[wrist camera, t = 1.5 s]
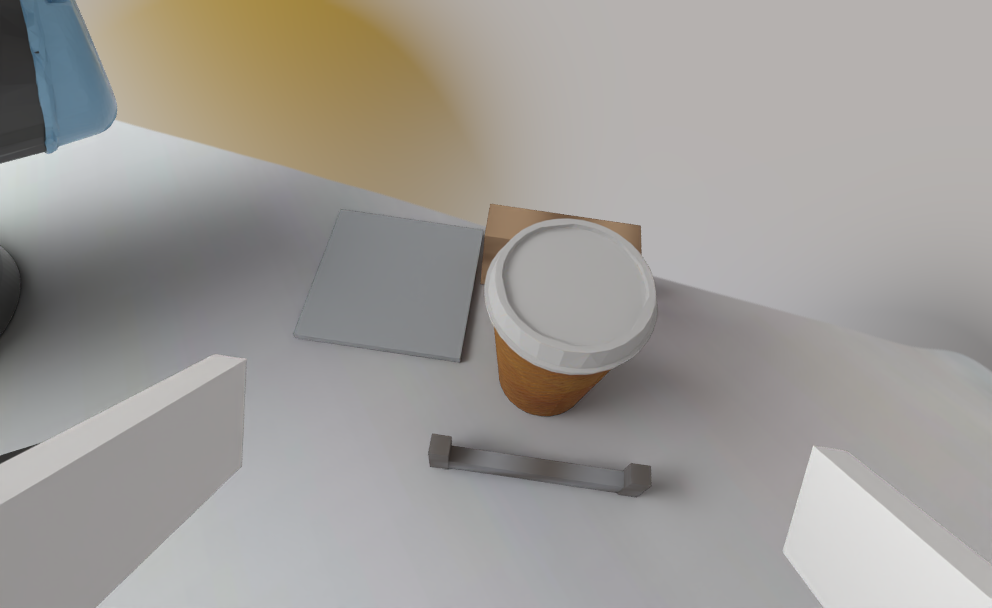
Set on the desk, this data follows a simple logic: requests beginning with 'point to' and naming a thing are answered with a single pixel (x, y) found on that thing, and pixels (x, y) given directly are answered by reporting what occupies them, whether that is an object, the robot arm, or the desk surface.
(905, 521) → the robot arm
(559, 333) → the disposable coffee cup
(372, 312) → the grey mat
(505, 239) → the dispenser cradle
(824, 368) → the desk surface
